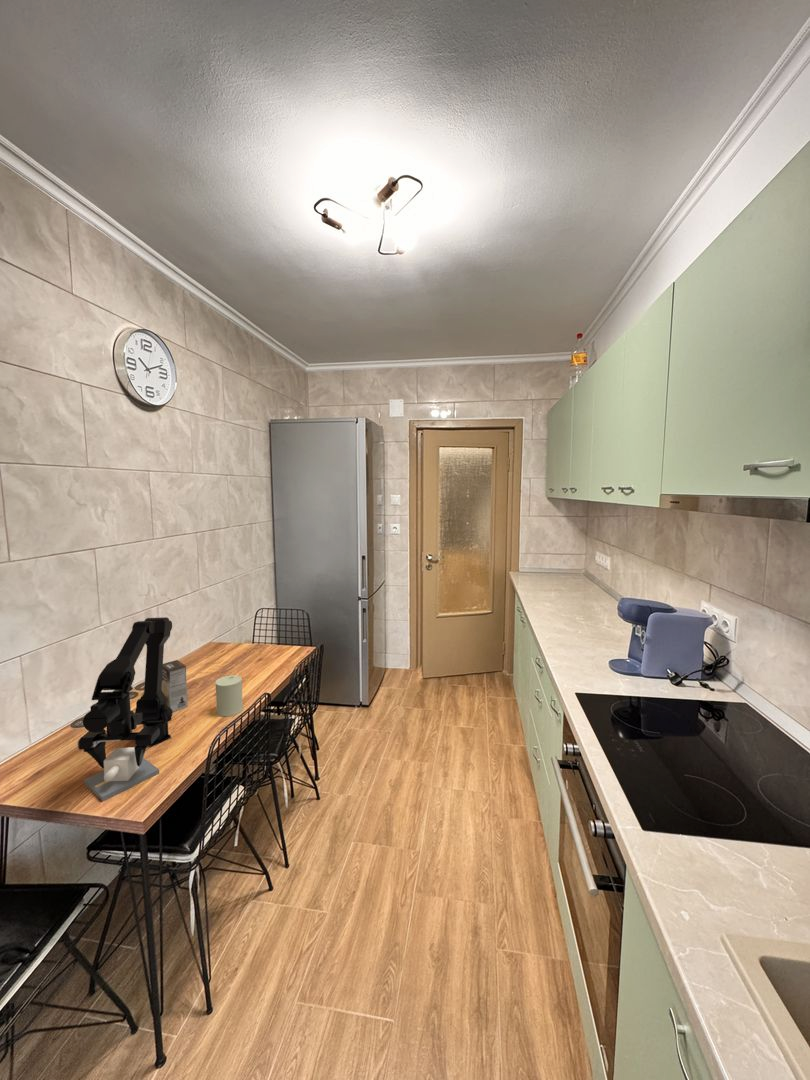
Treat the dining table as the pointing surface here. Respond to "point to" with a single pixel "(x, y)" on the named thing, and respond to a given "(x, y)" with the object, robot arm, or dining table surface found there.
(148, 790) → the dining table surface
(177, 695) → the coffee box
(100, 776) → the grey slotted slab
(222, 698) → the can
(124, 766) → the cream rectangular block
